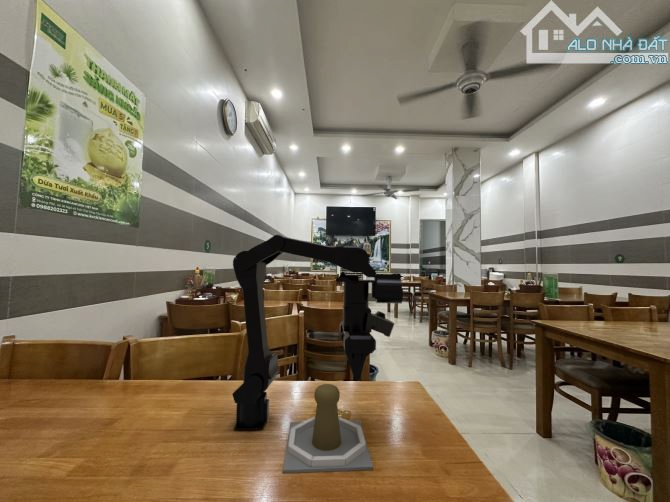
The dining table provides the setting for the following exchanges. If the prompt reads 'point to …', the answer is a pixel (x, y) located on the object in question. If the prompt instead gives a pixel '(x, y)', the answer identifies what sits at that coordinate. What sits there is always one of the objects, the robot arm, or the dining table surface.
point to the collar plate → (314, 460)
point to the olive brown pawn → (326, 418)
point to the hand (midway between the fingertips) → (354, 372)
